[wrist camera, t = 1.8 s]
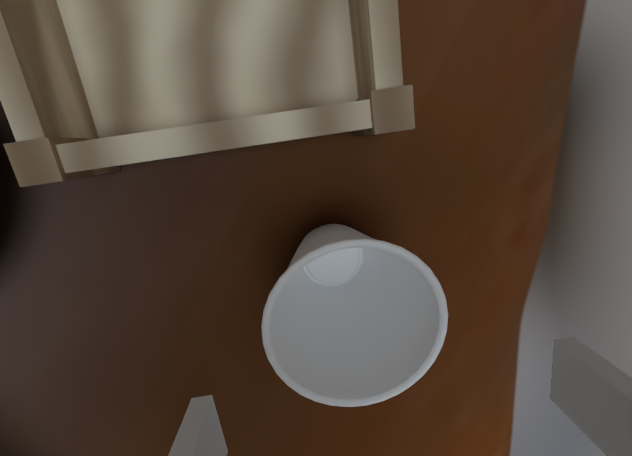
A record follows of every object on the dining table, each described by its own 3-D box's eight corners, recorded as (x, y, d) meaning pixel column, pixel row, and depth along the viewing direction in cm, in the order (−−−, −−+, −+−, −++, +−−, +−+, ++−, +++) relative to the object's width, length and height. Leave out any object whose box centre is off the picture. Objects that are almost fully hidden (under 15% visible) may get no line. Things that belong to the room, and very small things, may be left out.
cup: (321, 175, 26) (341, 199, 15) (412, 245, 28) (487, 309, 17) (250, 270, 27) (222, 351, 17) (341, 329, 29) (369, 435, 19)
